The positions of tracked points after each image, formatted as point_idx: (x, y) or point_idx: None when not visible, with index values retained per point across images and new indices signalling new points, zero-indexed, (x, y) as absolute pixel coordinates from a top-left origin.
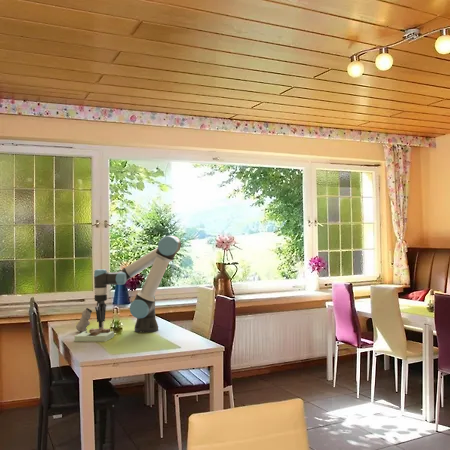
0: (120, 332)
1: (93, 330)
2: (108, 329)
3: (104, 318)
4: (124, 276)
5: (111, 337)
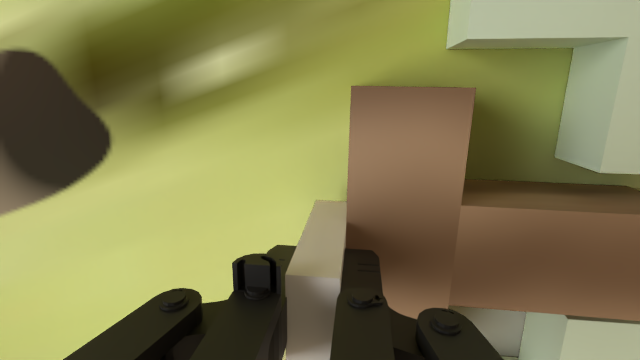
0: (165, 5)
1: None
2: (438, 93)
3: (182, 311)
4: None
5: None
